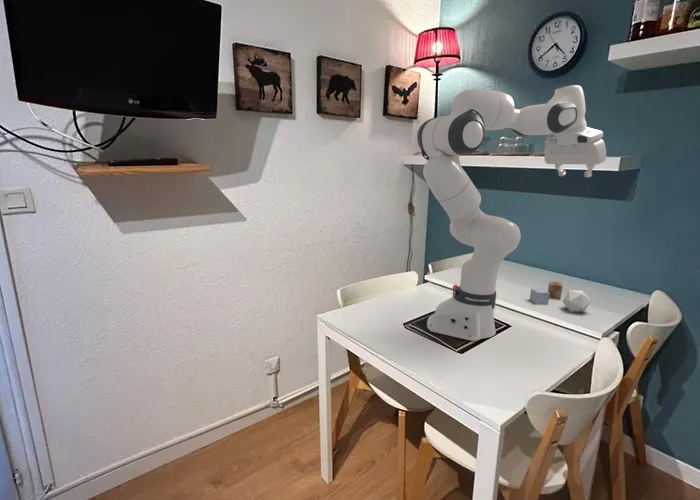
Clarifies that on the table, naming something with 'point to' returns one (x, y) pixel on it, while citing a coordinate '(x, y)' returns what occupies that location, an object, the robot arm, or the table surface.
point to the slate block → (539, 296)
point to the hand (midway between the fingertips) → (574, 176)
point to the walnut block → (555, 289)
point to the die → (576, 301)
